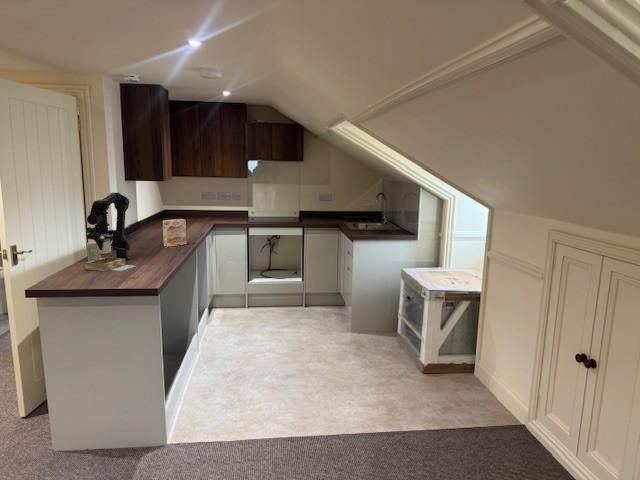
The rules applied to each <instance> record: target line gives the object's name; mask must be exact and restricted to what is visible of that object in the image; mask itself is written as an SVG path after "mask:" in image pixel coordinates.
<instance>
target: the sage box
mask: <svg viewBox="0 0 640 480" xmlns="http://www.w3.org/2000/svg"><path fill="white" fill-rule="evenodd" d="M102 238H103V246H102V250H100V249H99V247H98V245H97V250H98V253H101V254H108V253H112V242H110V239H109V238H104V237H102Z"/></svg>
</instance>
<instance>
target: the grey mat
mask: <svg viewBox="0 0 640 480" xmlns="http://www.w3.org/2000/svg"><path fill="white" fill-rule="evenodd" d="M134 268H136V265H129V264H126V265H125V266H121V267H118V268H115V269H112V270H111V271H112V272H124V271H126V270H130V269H134Z"/></svg>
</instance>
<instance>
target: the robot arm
mask: <svg viewBox="0 0 640 480" xmlns="http://www.w3.org/2000/svg"><path fill="white" fill-rule="evenodd" d="M112 204H114V206H113V207H114V208H115V211H116V223H115V224H116V225H115V229H109V226H110V223H109V221H108V214H109V212H108V210H109V209H110V206H111V205H112ZM129 207H130V199H129V198H128V197H127V196H125V195H124V194H121V193H120V192H110V193H109V195H107V196H106V197H103V198H102V199H97V200H94V201H93V202H92V206H91V208H90V212H89V215H87V219H86V221H87V223H88V224H89V225H91V226H87V227H86V233H87V235H86V239H87V240H92V241H93V242H96V243H97V245H98V247H99V249H100V250H102V246H103V238H109V239H110V242H111V248H112V250H113V251H114V252H115V255H116V257H115V258H123V259H125V261H127V260H130V259H131V258H130V257H129V255H128V251H130V250H131V245H130V244H129V242H128V237H126V235H125V232H126V231H125V230H126V228H125V227H126V212H127V210H128V209H129ZM93 225H94V226H93ZM92 226H93V227H92Z"/></svg>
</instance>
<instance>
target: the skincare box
mask: <svg viewBox="0 0 640 480" xmlns="http://www.w3.org/2000/svg"><path fill="white" fill-rule="evenodd" d="M85 244H86V252H87V260H88V261H87V262H89V261H92V260H96V259H100V258H102V255H101V254H102V253H98V250H97V243H96V242H95V241H89V242H87V243H85Z"/></svg>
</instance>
